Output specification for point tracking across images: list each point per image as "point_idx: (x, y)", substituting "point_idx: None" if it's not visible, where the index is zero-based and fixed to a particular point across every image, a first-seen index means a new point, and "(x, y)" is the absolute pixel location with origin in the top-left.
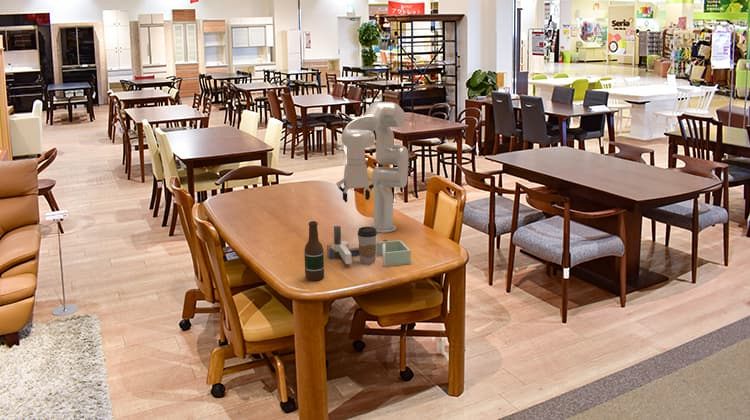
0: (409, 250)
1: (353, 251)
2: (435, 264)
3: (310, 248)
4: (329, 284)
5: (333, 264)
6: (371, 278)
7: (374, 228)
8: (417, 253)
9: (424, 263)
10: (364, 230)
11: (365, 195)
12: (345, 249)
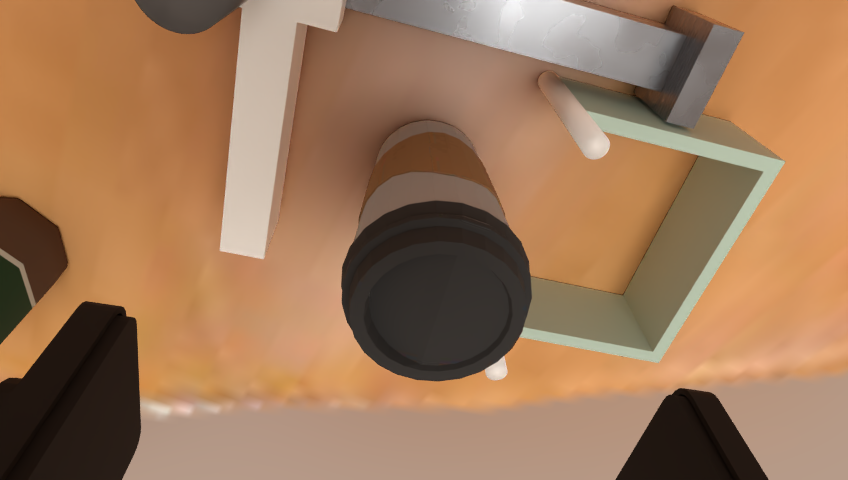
0: (655, 357)
1: (391, 18)
2: (723, 364)
3: None
4: None
5: (184, 88)
6: (324, 371)
7: (514, 329)
8: (803, 187)
9: (692, 332)
10: (413, 296)
11: (700, 477)
12: (255, 153)
